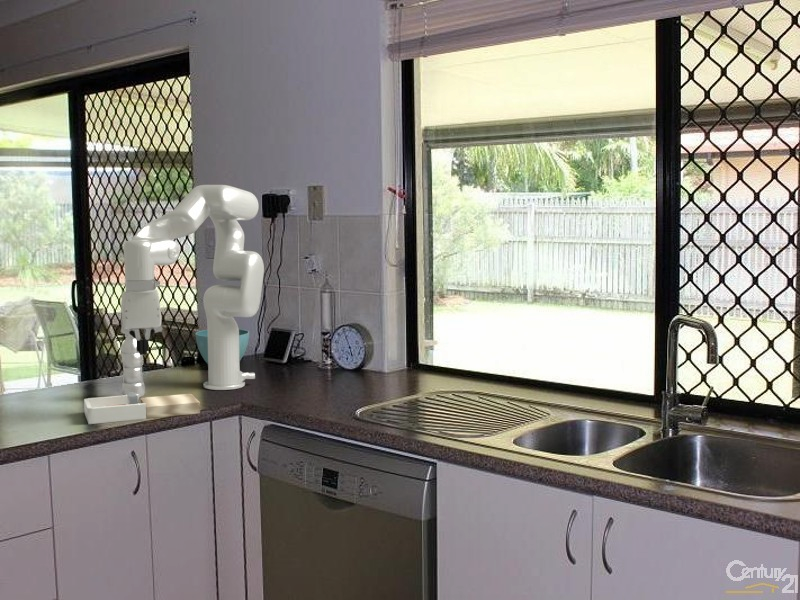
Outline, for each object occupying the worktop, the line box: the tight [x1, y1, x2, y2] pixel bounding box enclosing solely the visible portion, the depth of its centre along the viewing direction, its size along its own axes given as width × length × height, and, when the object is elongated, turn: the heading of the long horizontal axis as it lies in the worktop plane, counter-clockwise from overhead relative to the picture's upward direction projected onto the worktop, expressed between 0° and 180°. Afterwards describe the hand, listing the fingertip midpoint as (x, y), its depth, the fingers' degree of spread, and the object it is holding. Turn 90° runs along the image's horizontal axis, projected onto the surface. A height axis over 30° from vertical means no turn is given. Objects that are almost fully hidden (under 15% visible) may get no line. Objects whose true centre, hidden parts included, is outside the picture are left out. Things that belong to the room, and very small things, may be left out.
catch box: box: [83, 394, 147, 425], centre depth 235 cm, size 14×13×4 cm
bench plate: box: [139, 393, 201, 419], centre depth 241 cm, size 14×12×3 cm
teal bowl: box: [195, 328, 250, 365], centre depth 304 cm, size 18×18×12 cm
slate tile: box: [127, 392, 138, 405], centre depth 236 cm, size 5×5×2 cm
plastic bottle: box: [119, 334, 146, 398], centre depth 255 cm, size 6×7×20 cm
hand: (142, 353), depth 236 cm, fingers closed
